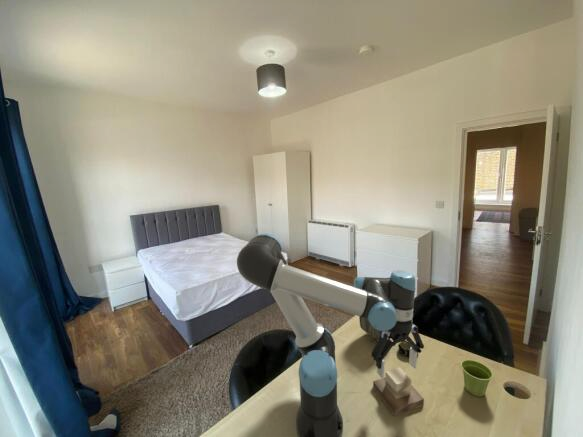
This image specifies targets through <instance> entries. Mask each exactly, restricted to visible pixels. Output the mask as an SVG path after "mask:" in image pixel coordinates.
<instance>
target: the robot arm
mask: <svg viewBox="0 0 583 437" xmlns="http://www.w3.org/2000/svg"><path fill="white" fill-rule="evenodd" d="M236 258H237V259H236V267H237V269H238V273H239V274H240V275H241V276H242V278H244V279H245V281H247V282H249V283H251V284H252V285H254V286H256V287H258V288H261V289H264V290H267V291H269V293H271V295H272V297H273V299H274V300H275V302H276V304H277V306H278V307H279V309H280V311H281V312H282V314H283V316H284V318H285V319H286V321H287V323H288V324H289V326H290V328H291V329H292V331H293V333H294V335H295V339H294V342H295V344H296V345H295V346H297V349H298V350H299V352H300V353H301V360H300V362H299V368H298V378H299V392H300V393H299V395H300V405H299V407H298V411H297V413H296V417H295V418H296V420H295V422H296V423H295V425H296V432H297V435H298V437H343V433H344V421H343V416H342V414H341V411H340V408H339V406H338V369H337V364H336V343H335V340H334V336H333V334H332V333H331V332H330V330H329V329H327V328H325V327H324V326H323V324H322V323H318V322H316V320H315V317H314V316H313V315H312V313H311V311H310V310H309V308H308V306H307V303H305V301H304V299H306V300H308V301H312V302H314V303H317V304H321V305H323V306H326V307H330V308H332V309H336V310H339V311H342V312H344V313H348V314H351V315H354V316H357V317H359V316H360V317H362V318H365V319H368V320H369V322H370V323H371V325H372V326H373V327H374V328H375V329H377V330H380V331H381V332H380V337H379V339H377V341H376V343H375V344H374V347H373V350H372V351H371V354H370V356H371V357H372V359H373V360H374V361H375V367H377V368H376V373H377V374H378V376H380V379H382V378H385V360H384V359H385V358H386V356H387V355H388V354H389V353H390V351H391V349H392V348H393V347H395V346H396V345H397V344H400V342H404V341H405V340H406V341H407V342H409V344H410V345H411V346H412V347H413V348H412V347H411V348H410V355H409V356H408V357H409V358H408V364H409V365H410V366H411V367H412V368H413V369H416V368H417V361H418V360H417V359H418V358H419V354H420V353H422V349H424V348H425V345H424V343H423V340H422V339H421V336H420V333H419V327H418V326H417V325H415V324H414V323H413V318H414V302H415V297H416V296H415V293H416V277H415V275H414V274H413V273H411V272H409V271H406V270H394V271H392V272H391V273H390V276H389V277H370V276H369V277H368V276H362V277H360V276H359V277H357V276H356V277H355V278H354V279H353V286H352V285H349V284H346V283H343V282H340V281H337V280H334V279H330V278H328V277H325V276H323V275H319V274H315V273H312V272H309V271H306V270H304V269H303V270H302V269H300V268H297V267H294V266H291V265H289V264H288V262H287V260H286V259H285V256H284V255H283V253H282V245H281V242H280V241H279V239H278V238H276V237H275V235H272V234H269V233H260V234H257V235H256V236H254V237H253V238H251V239H250V240H249V241H248V243H247V244H245V246H244V247H242V249H241V250H240V251H239V252H238V255H237V257H236ZM387 330H388V332H384V331H387ZM410 334H411V335H412V336H413V338H411V337H410Z"/></svg>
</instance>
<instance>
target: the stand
mask: <svg viewBox="0 0 583 437" xmlns="http://www.w3.org/2000/svg"><path fill="white" fill-rule="evenodd" d="M385 379H386V376H384V378H379V379H376V380H373V382H372V383H373V384H372V386H373V387H372V388H374V390H375V392H376V393H377V394H378V396H379V397H380V398H381V399H382V401H383V403H384V404H385V405H386V406H387V408H388V409H389V411H390V412H391V413H392V414H393V415H394V417H395V416H397V415H400V414H403V413H405V412H409V411H410V410H413V409H416V408H420V407H421V406H424V405H425V399H424V397H423V396H422V395H421V394H420V393H419V392H418V391H417V390H416V388H414V386H413V385H412V384H411V394H410V395H408V396H405V397H402V398H399V399H396V398H395V397H394V396H393V395H392V393H391V392H390V391H389V390H388V388H387V387H386V386H385Z"/></svg>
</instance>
